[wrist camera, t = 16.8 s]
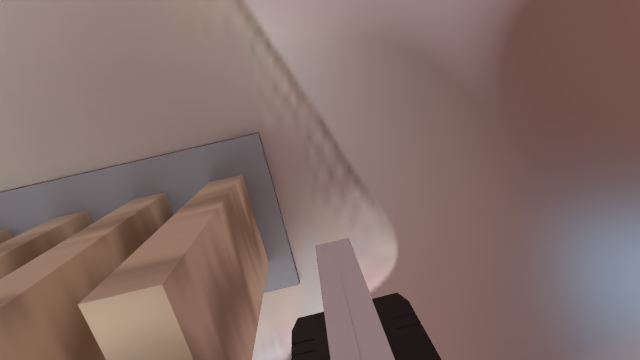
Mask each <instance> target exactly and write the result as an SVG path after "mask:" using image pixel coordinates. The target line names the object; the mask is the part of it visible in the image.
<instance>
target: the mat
mask: <svg viewBox="0 0 640 360" xmlns="http://www.w3.org/2000/svg"><path fill="white" fill-rule="evenodd" d="M238 175H243V178H244V181H245V185H246V188H247V191H248V195H249V198H250V201H251V205H252V208H253V211H254V215H255V218H256V221H257V225H258V228H259V231H260V235H261V238H262V241H263V245H264V248H265V251H266V255H267V258H268V261H269V262H268V268H267V274H266V280H265V285H264V291H263V293H264V292H268V291H272V290H277V289H281V288H285V287H289V286H293V285H298V284H299V278H298V274H297V271H296V267H295V263H294V260H293V256H292V252H291V249H290V245H289V242H288V238H287V234H286V231H285V227H284V223H283V220H282V216H281V212H280V209H279V205H278V201H277V198H276V194H275V190H274V187H273V183H272V180H271V176H270V172H269V169H268V165H267V161H266V158H265V154H264V150H263V147H262V143H261V139H260V136H259V133H256V134H252V135H248V136H243V137H239V138H234V139H230V140H226V141H221V142H217V143H213V144H208V145H204V146H200V147H195V148H191V149H187V150H182V151H178V152H174V153H169V154H165V155H161V156H156V157H152V158H148V159H143V160H139V161H135V162H130V163H126V164H122V165H117V166H113V167H108V168H104V169H100V170H95V171H91V172H87V173H82V174H78V175H74V176H69V177H65V178H61V179H56V180H52V181H48V182H43V183H39V184H35V185H30V186H26V187H22V188H17V189H13V190H9V191H4V192H0V231H1V230H6V229H8V230H9V232H10V233H11V235H12V237H13V238H14V237H16V236H18V235H20V234H22V233H24V232H26V231H28V230H30V229H32V228H34V227H36V226H38V225H40V224H42V223H45V222H47V221H49V220H51V219H53V218H57V217H62V216H66V215H70V214H75V213H79V212H83V211H87V212H88V214H89V216H90V219H91V221H92V223H94V222H96V221H98V220H99V219H101V218H103V217H104V216H106V215H108V214H109V213H111V212H113V211H114V210H116V209H118V208H119V207H121V206H123V205H124V204H126V203H128V202H129V201H131V200H135V199H139V198H143V197H148V196H152V195H156V194H161V193H165V194H166V197H167V199H168V202H169V204H170V207H171V210H172V212H173V215H174V214H175V213H176V212H178V211H179V210H180V209H181V208H182V207H183V206H184V205H185V204H186V203H187V202H188V201H189V200H190V199H191V198H193V197H194V196H195V195H196V194H197V193H198V192H199V191H200V190H201V189H202V188H203V187H204V186H205V185H206V184H207V183H209V182H212V181H217V180H221V179H225V178H230V177H234V176H238Z"/></svg>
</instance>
